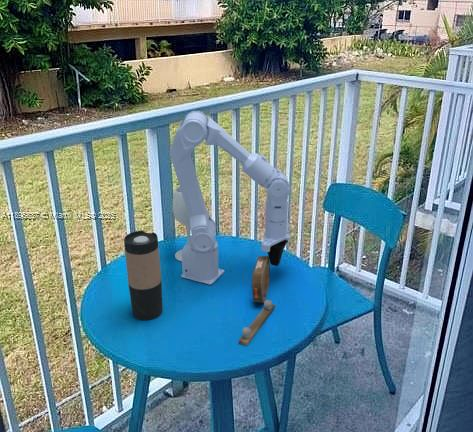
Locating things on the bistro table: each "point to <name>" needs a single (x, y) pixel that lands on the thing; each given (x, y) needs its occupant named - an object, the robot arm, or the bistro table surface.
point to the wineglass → (181, 216)
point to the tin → (261, 278)
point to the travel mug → (144, 274)
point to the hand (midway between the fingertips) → (274, 264)
